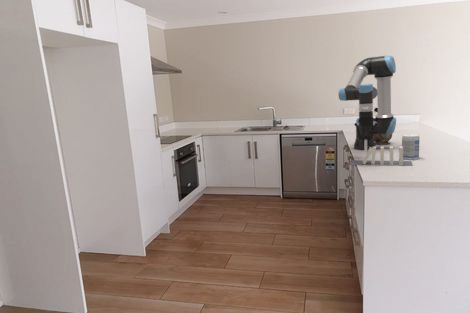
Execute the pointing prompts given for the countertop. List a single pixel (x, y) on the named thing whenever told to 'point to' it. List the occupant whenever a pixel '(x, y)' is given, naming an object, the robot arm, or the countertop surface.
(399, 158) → the domino
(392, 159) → the domino
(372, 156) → the domino
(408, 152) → the supplement tub
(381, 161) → the domino
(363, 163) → the domino
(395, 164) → the mat
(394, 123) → the robot arm
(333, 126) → the countertop surface
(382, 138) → the ceramic jug
